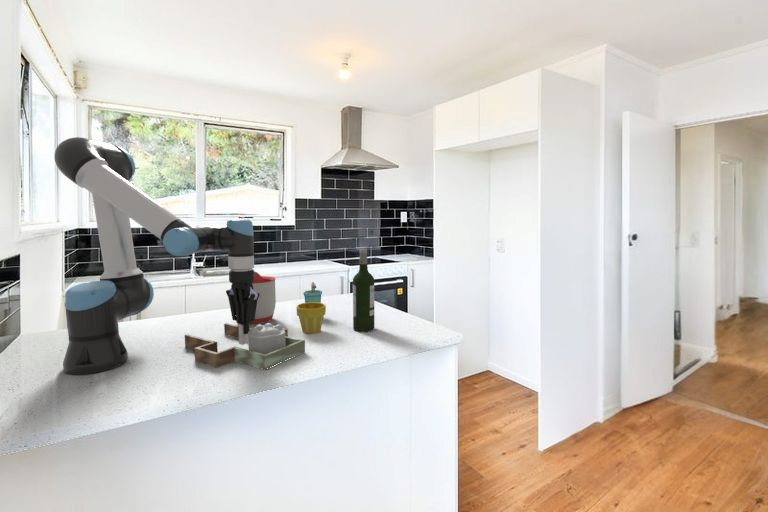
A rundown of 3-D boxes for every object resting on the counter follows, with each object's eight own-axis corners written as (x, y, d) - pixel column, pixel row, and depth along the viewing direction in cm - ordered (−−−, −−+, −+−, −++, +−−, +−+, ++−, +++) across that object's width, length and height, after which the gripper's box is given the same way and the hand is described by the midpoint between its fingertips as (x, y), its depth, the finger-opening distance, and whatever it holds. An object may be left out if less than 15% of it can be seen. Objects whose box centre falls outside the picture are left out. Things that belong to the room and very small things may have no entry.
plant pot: (319, 336, 141) (319, 309, 140) (292, 334, 143) (291, 307, 142) (329, 328, 151) (329, 302, 150) (304, 326, 153) (303, 301, 152)
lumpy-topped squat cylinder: (253, 363, 116) (252, 334, 115) (245, 349, 128) (244, 323, 127) (289, 356, 121) (288, 328, 120) (277, 344, 133) (277, 318, 132)
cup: (325, 321, 160) (325, 284, 159) (306, 322, 158) (305, 285, 156) (320, 312, 173) (319, 278, 172) (302, 314, 171) (301, 279, 169)
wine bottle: (377, 330, 147) (377, 249, 144) (357, 333, 144) (356, 250, 141) (370, 325, 154) (369, 247, 151) (350, 327, 151) (349, 248, 148)
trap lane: (167, 352, 125) (166, 340, 124) (240, 329, 149) (240, 319, 148) (248, 377, 106) (247, 363, 106) (317, 346, 130) (317, 335, 129)
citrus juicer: (230, 318, 164) (227, 270, 162) (273, 314, 171) (271, 267, 169) (233, 328, 150) (230, 276, 148) (280, 323, 157) (278, 273, 155)
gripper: (265, 269, 124) (267, 343, 126) (237, 266, 131) (240, 336, 133) (246, 272, 117) (248, 350, 120) (217, 269, 124) (220, 343, 127)
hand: (244, 343), depth 127 cm, fingers closed
